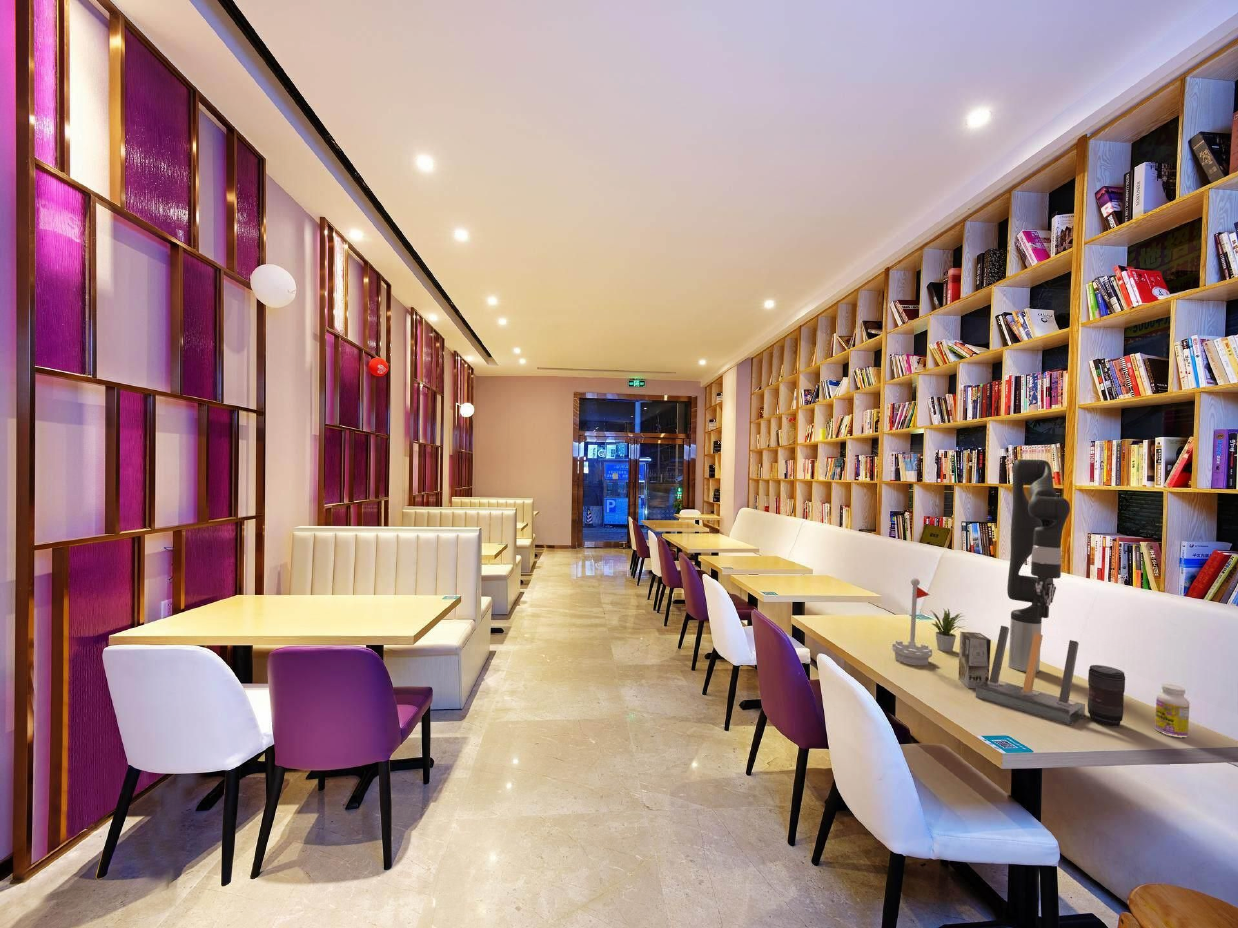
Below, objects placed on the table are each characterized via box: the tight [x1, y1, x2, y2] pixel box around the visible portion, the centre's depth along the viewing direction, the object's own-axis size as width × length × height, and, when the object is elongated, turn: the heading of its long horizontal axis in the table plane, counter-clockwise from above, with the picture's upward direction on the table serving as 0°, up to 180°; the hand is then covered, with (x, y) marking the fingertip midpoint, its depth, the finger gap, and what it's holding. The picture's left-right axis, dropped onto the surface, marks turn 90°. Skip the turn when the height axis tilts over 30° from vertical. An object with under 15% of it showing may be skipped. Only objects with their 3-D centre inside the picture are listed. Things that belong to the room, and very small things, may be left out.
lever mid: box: [1021, 633, 1044, 697], centre depth 182 cm, size 2×3×19 cm, turn 40°
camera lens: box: [1087, 664, 1126, 728], centre depth 171 cm, size 8×8×15 cm
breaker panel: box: [975, 680, 1086, 726], centre depth 181 cm, size 14×24×4 cm, turn 39°
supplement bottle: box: [1154, 683, 1190, 737], centre depth 165 cm, size 7×7×13 cm
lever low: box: [987, 625, 1010, 688], centre depth 189 cm, size 2×3×19 cm, turn 40°
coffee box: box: [958, 631, 992, 690], centre depth 197 cm, size 9×6×16 cm
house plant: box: [929, 608, 964, 653], centre depth 236 cm, size 14×14×16 cm
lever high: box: [1057, 639, 1079, 708], centre depth 175 cm, size 2×3×19 cm, turn 40°
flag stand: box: [891, 577, 933, 666], centre depth 221 cm, size 13×13×30 cm
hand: (1043, 617), depth 187 cm, fingers closed
